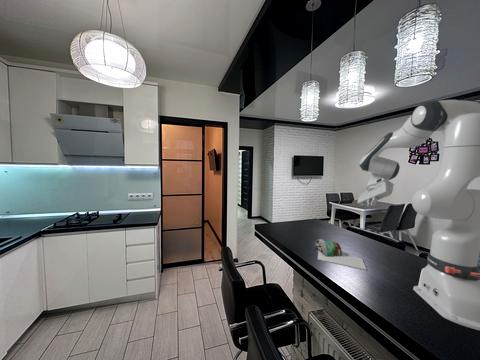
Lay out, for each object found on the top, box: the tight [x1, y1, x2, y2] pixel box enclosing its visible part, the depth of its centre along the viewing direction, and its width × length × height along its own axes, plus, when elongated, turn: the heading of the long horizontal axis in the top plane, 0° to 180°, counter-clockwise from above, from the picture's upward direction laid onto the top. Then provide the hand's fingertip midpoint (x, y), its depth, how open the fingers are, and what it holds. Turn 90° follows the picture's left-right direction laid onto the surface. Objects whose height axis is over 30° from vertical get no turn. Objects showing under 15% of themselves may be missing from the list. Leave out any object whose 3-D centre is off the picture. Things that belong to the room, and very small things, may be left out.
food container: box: [313, 238, 343, 256], centre depth 101 cm, size 12×6×10 cm
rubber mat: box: [317, 249, 367, 271], centre depth 94 cm, size 12×20×1 cm, turn 66°
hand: (370, 206), depth 104 cm, fingers closed
